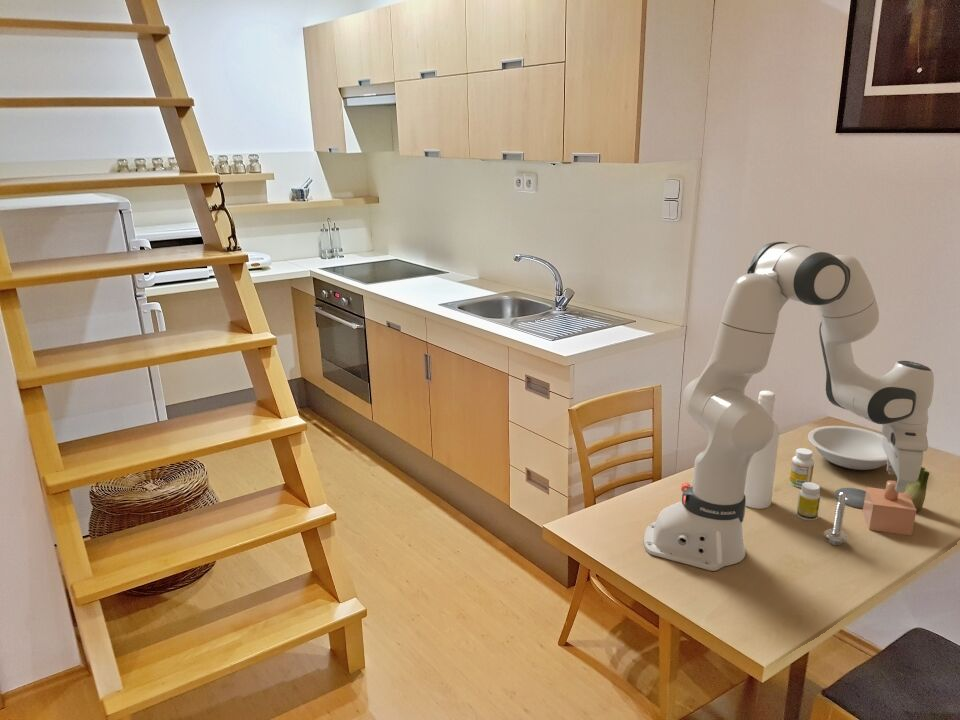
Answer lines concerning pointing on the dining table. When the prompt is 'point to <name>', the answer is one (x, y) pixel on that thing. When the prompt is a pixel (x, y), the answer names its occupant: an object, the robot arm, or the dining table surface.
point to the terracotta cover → (889, 510)
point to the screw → (837, 523)
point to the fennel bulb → (918, 489)
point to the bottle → (762, 463)
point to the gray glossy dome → (852, 497)
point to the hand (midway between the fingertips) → (895, 482)
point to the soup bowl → (849, 446)
